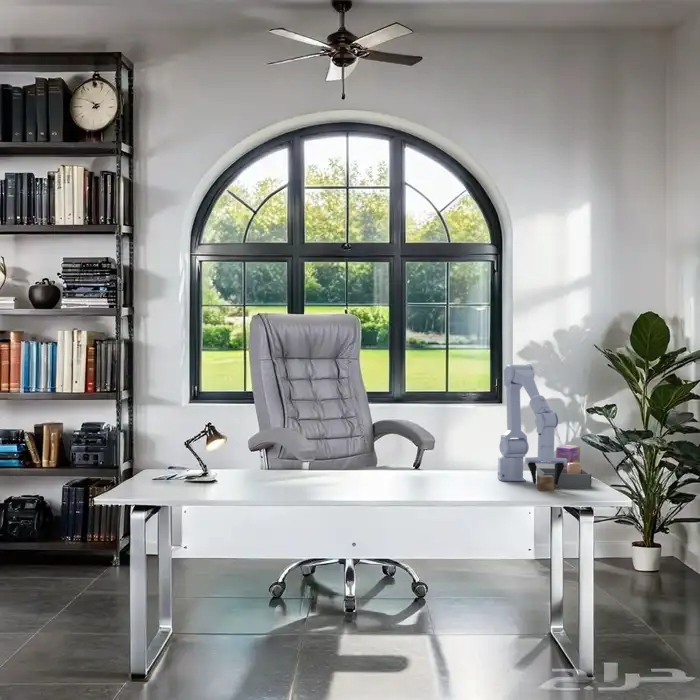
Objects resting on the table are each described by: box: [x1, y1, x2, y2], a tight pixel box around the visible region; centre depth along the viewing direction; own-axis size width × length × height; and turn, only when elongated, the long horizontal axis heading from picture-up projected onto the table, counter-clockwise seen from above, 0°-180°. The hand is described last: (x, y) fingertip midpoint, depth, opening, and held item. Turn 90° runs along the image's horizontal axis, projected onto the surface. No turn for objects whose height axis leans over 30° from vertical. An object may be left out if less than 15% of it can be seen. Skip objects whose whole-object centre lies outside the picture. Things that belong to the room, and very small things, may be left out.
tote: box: [536, 467, 592, 489], centre depth 334 cm, size 17×13×5 cm
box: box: [555, 444, 581, 469], centre depth 354 cm, size 10×6×12 cm, turn 143°
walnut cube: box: [536, 474, 554, 492], centre depth 323 cm, size 5×5×5 cm
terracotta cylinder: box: [567, 462, 582, 474], centre depth 337 cm, size 5×5×7 cm
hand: (545, 483), depth 323 cm, fingers open, 7 cm apart
